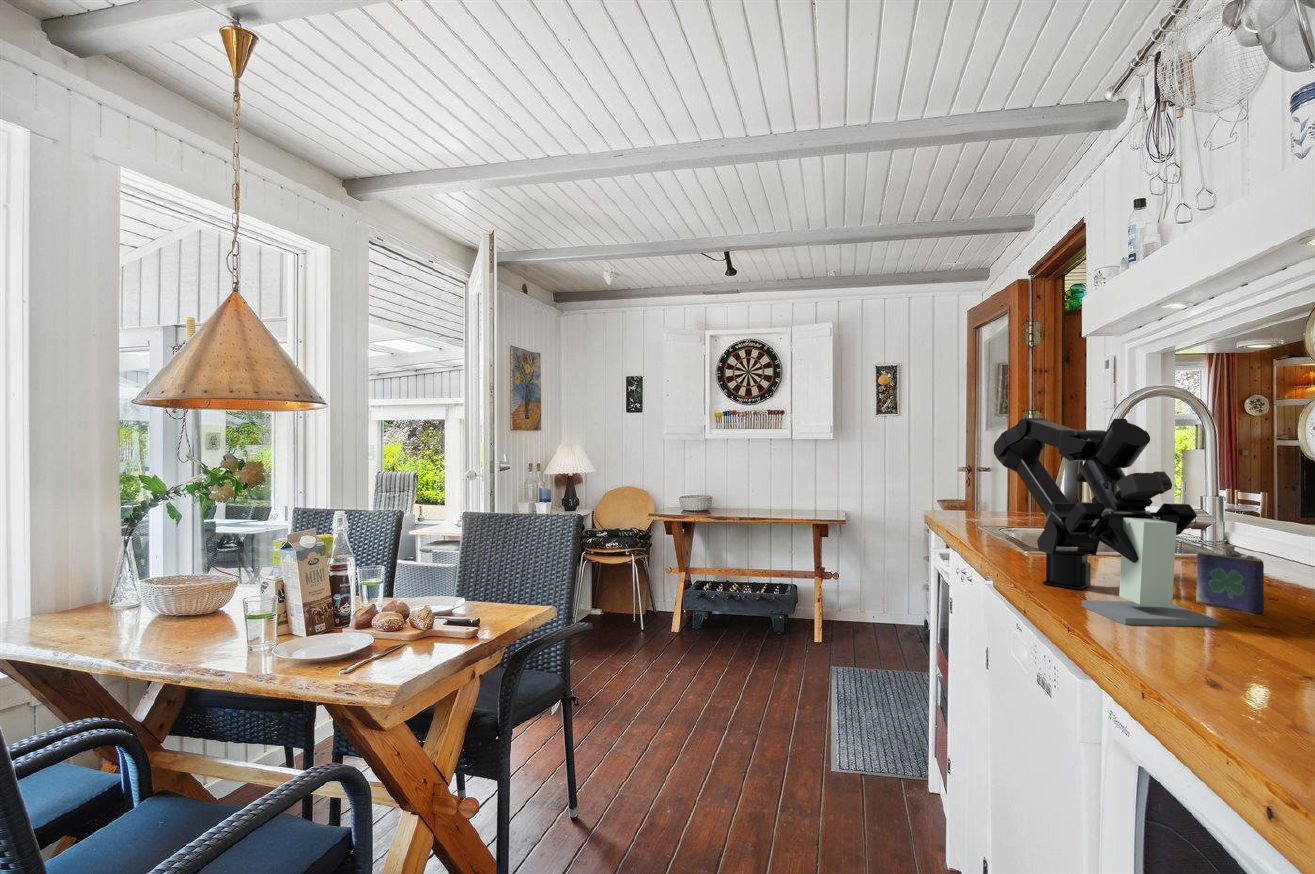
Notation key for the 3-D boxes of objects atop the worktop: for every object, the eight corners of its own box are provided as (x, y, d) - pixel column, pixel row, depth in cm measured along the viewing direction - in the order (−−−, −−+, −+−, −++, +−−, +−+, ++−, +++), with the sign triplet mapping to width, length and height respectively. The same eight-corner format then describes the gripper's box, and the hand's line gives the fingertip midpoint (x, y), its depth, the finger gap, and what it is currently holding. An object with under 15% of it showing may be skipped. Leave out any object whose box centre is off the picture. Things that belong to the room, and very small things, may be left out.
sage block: (1119, 596, 113) (1123, 517, 113) (1150, 597, 113) (1154, 518, 112) (1139, 604, 108) (1144, 521, 108) (1172, 605, 108) (1176, 523, 107)
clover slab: (1193, 603, 119) (1194, 541, 119) (1201, 601, 120) (1203, 540, 120) (1259, 616, 111) (1261, 550, 111) (1267, 614, 112) (1269, 549, 112)
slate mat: (1081, 606, 116) (1081, 600, 116) (1165, 607, 116) (1165, 601, 116) (1125, 624, 105) (1125, 618, 105) (1218, 626, 105) (1218, 619, 105)
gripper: (1076, 453, 114) (1118, 530, 103) (1189, 455, 114) (1244, 531, 103) (1048, 496, 122) (1085, 571, 111) (1154, 497, 122) (1201, 573, 111)
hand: (1153, 561), depth 109 cm, fingers closed on sage block, 5 cm apart
